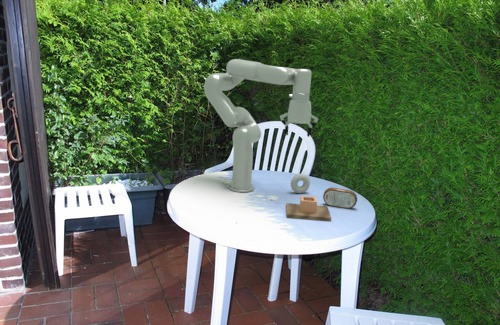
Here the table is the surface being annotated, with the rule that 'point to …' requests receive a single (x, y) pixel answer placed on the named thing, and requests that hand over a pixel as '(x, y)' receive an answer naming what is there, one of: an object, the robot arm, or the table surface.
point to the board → (294, 212)
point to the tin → (340, 198)
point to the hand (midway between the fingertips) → (297, 135)
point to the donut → (296, 179)
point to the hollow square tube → (308, 204)
